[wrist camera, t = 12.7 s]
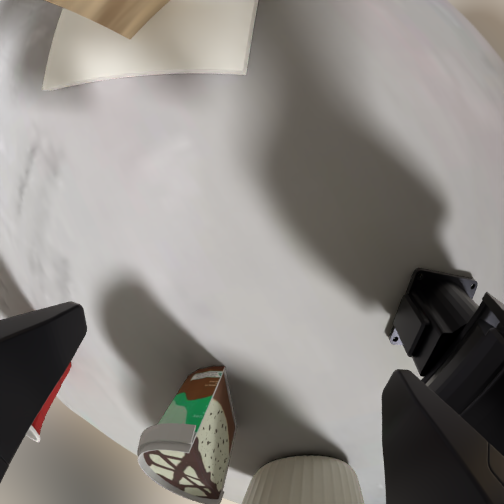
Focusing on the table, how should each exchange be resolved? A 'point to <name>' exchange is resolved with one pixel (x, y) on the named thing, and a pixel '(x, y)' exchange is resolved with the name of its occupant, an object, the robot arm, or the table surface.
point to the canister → (305, 482)
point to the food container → (193, 439)
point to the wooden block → (115, 12)
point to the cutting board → (154, 44)
